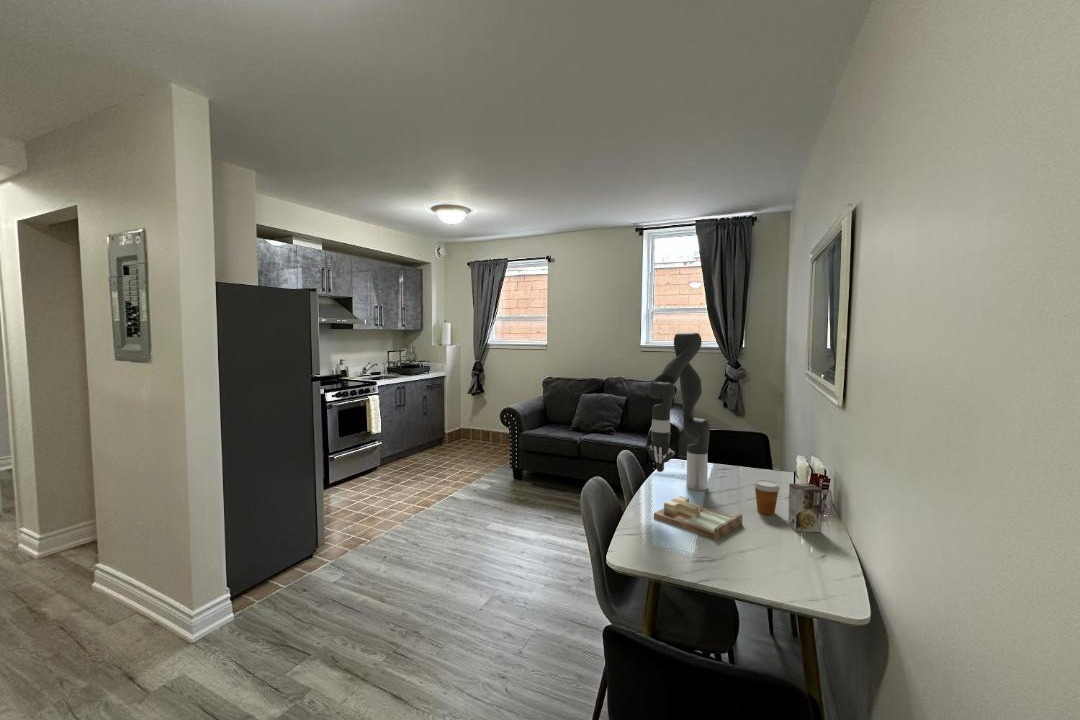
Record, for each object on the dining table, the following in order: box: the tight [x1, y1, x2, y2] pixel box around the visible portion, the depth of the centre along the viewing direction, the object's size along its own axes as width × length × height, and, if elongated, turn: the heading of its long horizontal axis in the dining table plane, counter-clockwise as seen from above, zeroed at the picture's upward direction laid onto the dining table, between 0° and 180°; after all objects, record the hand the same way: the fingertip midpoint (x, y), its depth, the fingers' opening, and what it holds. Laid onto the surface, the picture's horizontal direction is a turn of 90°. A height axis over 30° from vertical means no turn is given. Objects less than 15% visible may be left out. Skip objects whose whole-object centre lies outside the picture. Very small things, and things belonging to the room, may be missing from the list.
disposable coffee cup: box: [753, 479, 780, 516], centre depth 183 cm, size 10×10×12 cm
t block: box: [663, 495, 701, 517], centre depth 177 cm, size 12×11×4 cm
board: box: [653, 506, 743, 541], centre depth 173 cm, size 20×26×4 cm
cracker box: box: [787, 483, 823, 533], centre depth 167 cm, size 9×6×16 cm
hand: (659, 471), depth 185 cm, fingers closed
